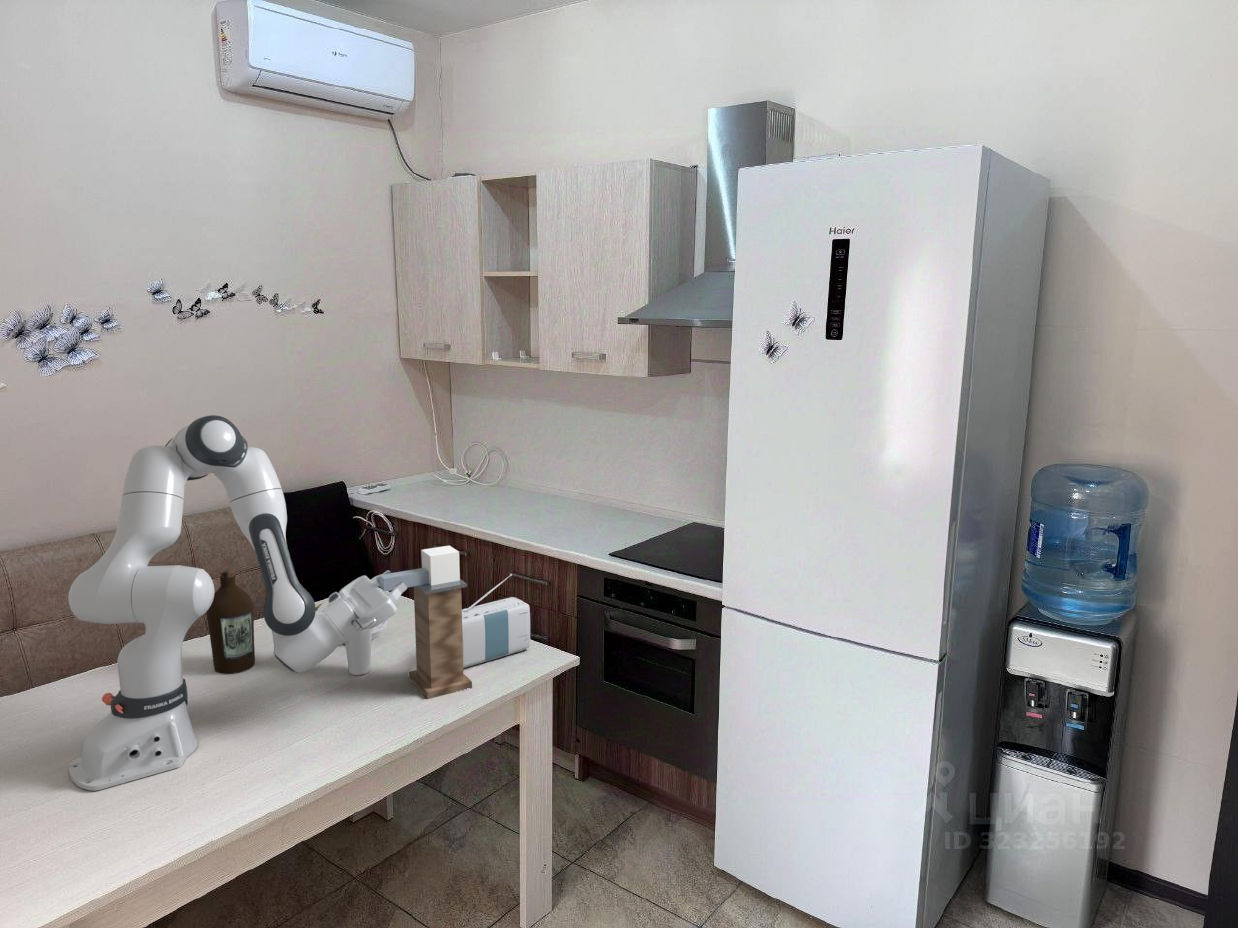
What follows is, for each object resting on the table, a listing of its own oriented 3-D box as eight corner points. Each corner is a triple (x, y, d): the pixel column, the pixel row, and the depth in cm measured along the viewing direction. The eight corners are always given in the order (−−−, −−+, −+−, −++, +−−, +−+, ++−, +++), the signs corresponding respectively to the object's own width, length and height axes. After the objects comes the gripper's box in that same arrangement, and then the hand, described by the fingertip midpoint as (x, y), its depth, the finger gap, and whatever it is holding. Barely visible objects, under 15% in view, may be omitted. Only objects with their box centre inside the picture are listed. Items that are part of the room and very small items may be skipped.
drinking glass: (356, 679, 205) (353, 621, 202) (339, 672, 209) (336, 614, 206) (379, 670, 210) (377, 613, 207) (362, 663, 214) (360, 607, 211)
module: (386, 593, 189) (385, 563, 188) (378, 585, 194) (376, 556, 193) (459, 580, 199) (459, 551, 197) (450, 573, 204) (449, 545, 202)
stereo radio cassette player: (461, 672, 210) (459, 596, 206) (445, 661, 216) (443, 587, 212) (532, 651, 223) (531, 579, 219) (515, 641, 229) (514, 571, 225)
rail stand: (427, 698, 196) (424, 592, 191) (408, 677, 206) (405, 576, 201) (472, 687, 201) (469, 583, 196) (451, 667, 212) (448, 568, 207)
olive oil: (205, 665, 212) (196, 570, 207) (248, 653, 219) (241, 561, 214) (220, 679, 204) (211, 580, 199) (264, 666, 211) (257, 571, 207)
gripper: (351, 622, 179) (405, 581, 184) (327, 593, 195) (377, 557, 200) (367, 643, 181) (420, 602, 186) (342, 613, 198) (391, 576, 203)
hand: (398, 578), depth 193 cm, fingers open, 8 cm apart
